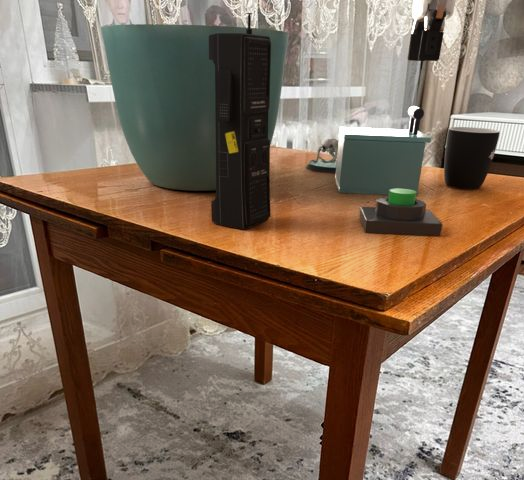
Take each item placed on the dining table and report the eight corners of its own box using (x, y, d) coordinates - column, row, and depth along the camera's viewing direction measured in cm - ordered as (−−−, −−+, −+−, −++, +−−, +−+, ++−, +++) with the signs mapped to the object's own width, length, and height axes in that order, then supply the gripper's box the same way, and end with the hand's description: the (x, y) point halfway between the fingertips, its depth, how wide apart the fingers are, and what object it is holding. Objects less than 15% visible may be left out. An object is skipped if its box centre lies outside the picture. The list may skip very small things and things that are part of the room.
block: (427, 221, 79) (431, 196, 78) (440, 236, 72) (445, 210, 70) (359, 218, 80) (361, 193, 78) (365, 232, 72) (368, 206, 71)
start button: (411, 201, 76) (413, 189, 75) (416, 207, 73) (419, 194, 72) (386, 200, 76) (387, 187, 75) (389, 206, 73) (391, 193, 72)
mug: (489, 192, 99) (503, 133, 94) (439, 188, 101) (449, 130, 96) (483, 181, 109) (494, 127, 105) (437, 177, 111) (446, 124, 106)
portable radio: (244, 233, 70) (247, 7, 59) (206, 225, 73) (202, 7, 61) (272, 220, 77) (280, 13, 65) (236, 214, 79) (238, 13, 67)
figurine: (292, 166, 117) (293, 136, 114) (332, 162, 124) (335, 133, 121) (327, 175, 109) (329, 142, 107) (368, 170, 116) (372, 139, 113)
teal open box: (405, 183, 104) (412, 134, 100) (416, 196, 94) (425, 142, 90) (334, 180, 105) (339, 131, 101) (338, 192, 95) (343, 139, 91)
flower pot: (78, 185, 93) (58, 22, 82) (179, 163, 117) (174, 33, 105) (229, 210, 81) (229, 23, 70) (306, 179, 105) (316, 36, 94)
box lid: (417, 134, 100) (421, 105, 98) (430, 142, 90) (436, 109, 88) (339, 131, 101) (342, 102, 98) (344, 139, 91) (347, 106, 88)
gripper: (484, -80, 74) (458, 61, 82) (453, -56, 90) (433, 61, 98) (429, -82, 75) (408, 59, 83) (407, -57, 90) (391, 59, 98)
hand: (422, 60), depth 90 cm, fingers open, 9 cm apart
